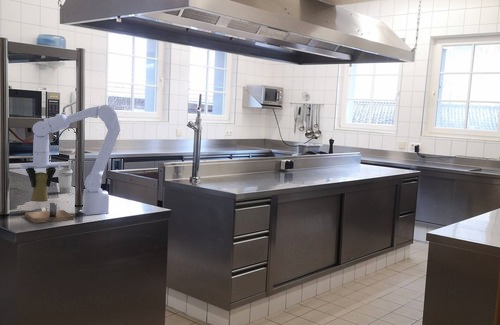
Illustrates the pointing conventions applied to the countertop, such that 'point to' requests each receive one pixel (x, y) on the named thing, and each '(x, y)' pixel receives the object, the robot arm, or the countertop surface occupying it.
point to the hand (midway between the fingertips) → (40, 186)
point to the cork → (40, 187)
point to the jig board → (44, 216)
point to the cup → (65, 180)
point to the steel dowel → (53, 209)
